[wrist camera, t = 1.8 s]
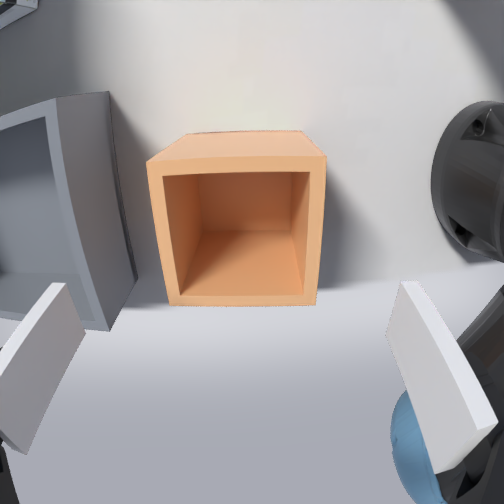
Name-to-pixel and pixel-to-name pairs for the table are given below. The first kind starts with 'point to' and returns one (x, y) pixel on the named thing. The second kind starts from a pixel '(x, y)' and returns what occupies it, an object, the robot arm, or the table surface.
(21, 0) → the tea box
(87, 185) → the large crate
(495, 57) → the table surface
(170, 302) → the small crate
